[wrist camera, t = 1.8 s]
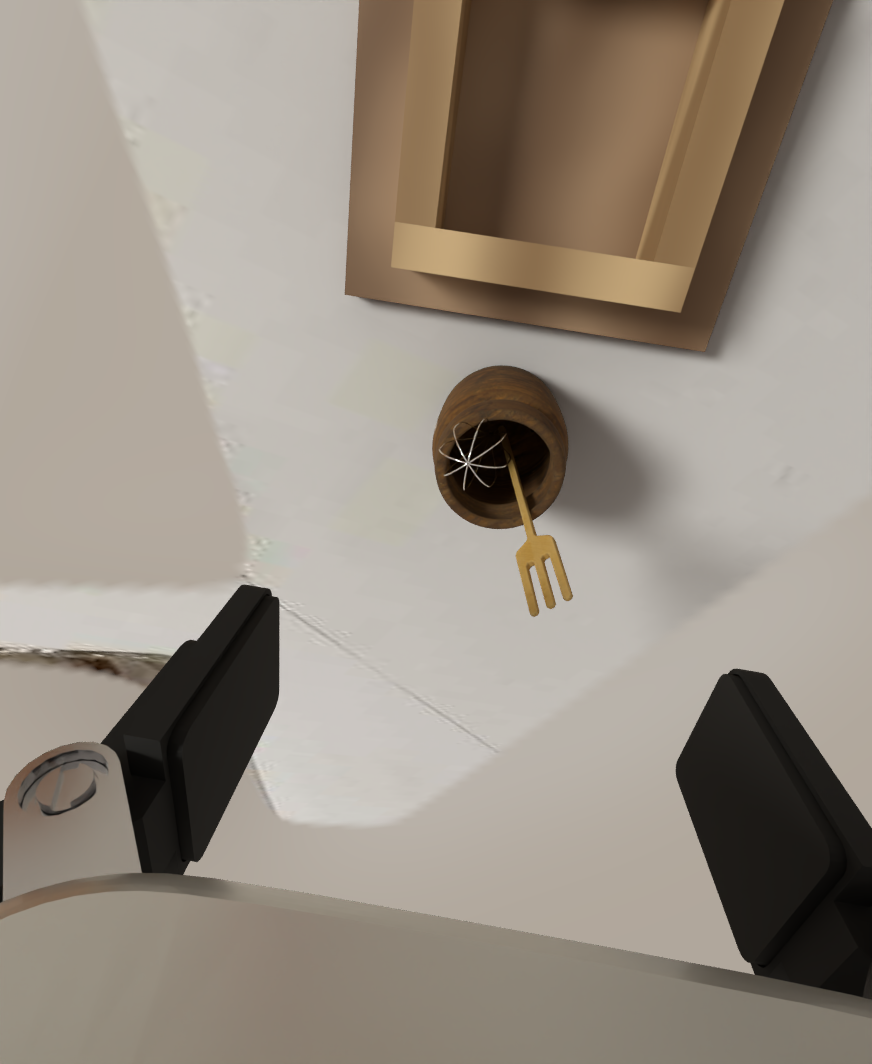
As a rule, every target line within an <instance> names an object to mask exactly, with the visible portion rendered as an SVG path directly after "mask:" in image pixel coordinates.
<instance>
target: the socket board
mask: <svg viewBox="0 0 872 1064" xmlns="http://www.w3.org/2000/svg"><path fill="white" fill-rule="evenodd" d="M832 2H833V0H359V18H358V38H357V59H356V79H355V99H354V119H353V139H352V160H351V180H350V200H349V220H348V241H347V261H346V281H345V295H351V296H357V297H363V298H370V299H376V300H382V301H388V302H395V303H401V304H407V305H414V306H420V307H426V308H432V309H439V310H445V311H451V312H457V313H464V314H470V315H476V316H483V317H489V318H495V319H501V320H508V321H514V322H520V323H526V324H533V325H539V326H545V327H552V328H558V329H564V330H570V331H577V332H583V333H589V334H595V335H602V336H608V337H614V338H621V339H627V340H633V341H639V342H646V343H652V344H658V345H664V346H671V347H677V348H683V349H690V350H696V351H702V352H705V350H706V347H707V344H708V342H709V339H710V336H711V333H712V331H713V328H714V325H715V322H716V320H717V317H718V314H719V312H720V309H721V306H722V303H723V301H724V298H725V295H726V292H727V290H728V287H729V284H730V281H731V279H732V276H733V273H734V270H735V268H736V265H737V262H738V260H739V257H740V254H741V251H742V249H743V246H744V243H745V240H746V238H747V235H748V232H749V229H750V227H751V224H752V221H753V218H754V216H755V213H756V210H757V208H758V205H759V202H760V199H761V197H762V194H763V191H764V188H765V186H766V183H767V180H768V177H769V175H770V172H771V169H772V166H773V164H774V161H775V158H776V156H777V153H778V150H779V147H780V145H781V142H782V139H783V136H784V134H785V131H786V128H787V125H788V123H789V120H790V117H791V114H792V112H793V109H794V106H795V104H796V101H797V98H798V95H799V93H800V90H801V87H802V84H803V82H804V79H805V76H806V73H807V71H808V68H809V65H810V62H811V60H812V57H813V54H814V52H815V49H816V46H817V43H818V41H819V38H820V35H821V32H822V30H823V27H824V24H825V21H826V19H827V16H828V13H829V10H830V8H831V5H832Z"/></svg>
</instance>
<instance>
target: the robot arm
mask: <svg viewBox="0 0 872 1064" xmlns="http://www.w3.org/2000/svg"><path fill="white" fill-rule="evenodd" d="M278 696H279V599H278V597H273V596H272V593H271V590H270V589H267V588H261V587H256V586H250V585H241V586H240V587H239V588H238V590H237V591H236V592H235V593H234V595H233V596H232V597H231V598H230V600H229V601H228V602H227V603H226V605H225V606H224V607H223V609H222V610H221V611H220V612H219V614H218V615H217V616H216V617H215V619H214V620H213V621H212V622H211V624H210V625H209V626H208V628H207V629H206V630H205V631H204V633H203V634H202V635H201V636H200V638H199V639H198V640H197V641H194V640H188V641H186V642H185V643H183V644H182V645H181V646H180V647H179V649H178V650H177V651H176V652H175V654H174V655H173V656H172V657H171V658H170V660H169V661H168V662H167V663H166V664H165V666H164V667H163V668H162V669H161V671H160V672H159V673H158V674H157V675H156V677H155V678H154V679H153V680H152V682H151V683H150V684H149V685H148V686H147V688H146V689H145V690H144V691H143V693H142V694H141V695H140V696H139V697H138V699H137V700H136V701H135V702H134V704H133V705H132V706H131V707H130V708H129V710H128V711H127V712H126V713H125V714H124V716H123V717H122V718H121V719H120V721H119V722H118V723H117V724H116V726H115V727H114V728H113V729H112V730H111V732H110V733H109V734H108V735H107V736H106V738H105V739H104V740H103V741H102V742H101V744H99V743H95V742H77V743H72V744H68V745H64V746H60V747H58V748H55V749H53V750H50V751H48V752H46V753H44V754H42V755H41V756H39V757H37V758H36V759H34V760H33V761H31V762H30V763H28V764H27V765H26V766H25V767H24V768H23V769H22V770H21V771H20V772H19V773H18V774H17V775H16V776H15V777H14V779H13V780H12V782H11V783H10V785H9V786H8V788H7V791H6V794H5V799H4V800H2V801H0V1064H872V828H871V827H870V825H869V824H868V822H867V821H866V819H865V818H864V816H863V815H862V813H861V812H860V810H859V809H858V807H857V806H856V804H855V803H854V802H853V800H852V799H851V797H850V796H849V794H848V793H847V791H846V790H845V788H844V787H843V785H842V784H841V782H840V781H839V779H838V778H837V777H836V775H835V774H834V772H833V771H832V769H831V768H830V766H829V765H828V763H827V762H826V760H825V759H824V758H823V756H822V754H821V753H820V751H819V750H818V749H817V747H816V746H815V744H814V743H813V741H812V740H811V738H810V737H809V735H808V734H807V732H806V731H805V729H804V728H803V726H802V725H801V723H800V722H799V720H798V719H797V718H796V716H795V715H794V713H793V712H792V710H791V709H790V707H789V706H788V704H787V703H786V701H785V700H784V698H783V697H782V695H781V694H780V693H779V691H778V690H777V688H776V687H775V685H774V684H773V682H772V681H771V679H770V678H769V677H768V676H767V675H766V674H764V673H759V672H753V671H747V670H741V669H733V670H731V671H730V672H729V673H728V674H723V675H722V676H721V677H720V678H719V680H718V682H717V684H716V686H715V688H714V690H713V692H712V694H711V696H710V698H709V700H708V702H707V704H706V706H705V707H704V709H703V711H702V713H701V715H700V717H699V719H698V721H697V723H696V725H695V727H694V729H693V731H692V733H691V735H690V737H689V739H688V741H687V743H686V745H685V747H684V749H683V751H682V753H681V755H680V757H679V759H678V761H677V764H676V777H677V781H678V784H679V787H680V789H681V792H682V795H683V797H684V800H685V803H686V806H687V809H688V811H689V814H690V817H691V820H692V822H693V825H694V828H695V831H696V833H697V836H698V839H699V842H700V844H701V847H702V850H703V853H704V855H705V858H706V861H707V863H708V866H709V869H710V872H711V875H712V877H713V880H714V883H715V886H716V889H717V891H718V894H719V897H720V900H721V902H722V905H723V908H724V911H725V913H726V916H727V919H728V921H729V924H730V927H731V930H732V933H733V935H734V938H735V941H736V944H737V946H738V949H739V951H740V953H741V955H742V957H743V958H744V960H746V961H747V962H749V963H751V965H752V968H753V971H754V974H755V975H753V974H748V973H742V972H737V971H732V970H726V969H721V968H716V967H711V966H705V965H700V964H695V963H689V962H684V961H679V960H673V959H668V958H663V957H657V956H652V955H646V954H642V953H636V952H631V951H626V950H620V949H615V948H610V947H604V946H599V945H593V944H587V943H582V942H577V941H571V940H566V939H560V938H555V937H550V936H544V935H539V934H533V933H528V932H522V931H517V930H511V929H506V928H500V927H495V926H489V925H483V924H478V923H473V922H467V921H461V920H456V919H450V918H445V917H439V916H433V915H428V914H422V913H417V912H411V911H405V910H400V909H394V908H389V907H383V906H377V905H372V904H366V903H360V902H355V901H349V900H343V899H337V898H332V897H326V896H321V895H315V894H309V893H304V892H297V891H290V890H284V889H278V888H272V887H266V886H259V885H253V884H246V883H240V882H233V881H228V880H221V879H215V878H205V877H196V876H186V875H183V874H184V872H185V870H186V868H187V866H188V864H189V862H190V861H194V862H198V861H199V860H200V859H201V857H202V856H203V854H204V852H205V850H206V848H207V846H208V844H209V842H210V840H211V838H212V836H213V834H214V832H215V830H216V828H217V826H218V824H219V822H220V820H221V818H222V815H223V813H224V811H225V809H226V807H227V805H228V803H229V801H230V799H231V797H232V795H233V793H234V791H235V789H236V787H237V785H238V783H239V781H240V779H241V777H242V775H243V773H244V771H245V769H246V767H247V765H248V763H249V761H250V758H251V756H252V754H253V752H254V750H255V748H256V746H257V744H258V742H259V740H260V738H261V736H262V734H263V732H264V730H265V728H266V726H267V724H268V722H269V720H270V718H271V716H272V714H273V712H274V709H275V707H276V704H277V701H278Z"/></svg>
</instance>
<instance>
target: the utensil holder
mask: <svg viewBox="0 0 872 1064" xmlns="http://www.w3.org/2000/svg"><path fill="white" fill-rule="evenodd" d="M432 450H433V460H434V465H435V475H436V480H437V484H438V487H439V490H440V492H441V494H442V496H443V498H444V500H445V501H446V503H447V504H448V505H449V506H450V508H451V509H452V510H453V511H454V512H455V513H457V514H458V515H459V516H460V517H462V518H463V519H465V520H467V521H468V522H470V523H473V524H475V525H478V526H481V527H485V528H492V529H507V528H513V527H517V526H521V525H524V527H525V531H526V535H527V541H526V542H525V543H524V545H523V546H522V547H521V548H520V549H519V550H518V551H517V553H516V559H517V563H518V567H519V571H520V575H521V579H522V583H523V587H524V591H525V595H526V599H527V603H528V607H529V612H530V615H531V616H533V617H535V616H537V615H538V614H539V608H538V604H537V600H536V596H535V592H534V588H533V583H532V579H531V575H530V571H529V570H530V568H531V567H532V566H534V565H535V567H536V571H537V574H538V578H539V581H540V585H541V589H542V592H543V596H544V599H545V603H546V606H547V608H549V609H552V608H554V607H555V605H556V603H555V599H554V595H553V592H552V588H551V585H550V581H549V577H548V574H547V570H546V567H545V563H544V562H545V560H546V559H548V558H551V561H552V564H553V568H554V571H555V574H556V577H557V580H558V583H559V586H560V589H561V593H562V596H563V599H564V600H566V601H569V600H571V599H572V597H573V595H572V592H571V588H570V585H569V582H568V579H567V576H566V573H565V570H564V566H563V563H562V560H561V557H560V554H559V551H558V548H557V545H556V541H555V540H554V538H553V537H552V536H550V535H544V536H537V535H536V532H535V528H534V525H533V521H532V520H534V519H536V518H537V517H539V516H540V515H541V514H543V513H544V512H545V511H546V510H547V509H548V508H549V507H550V506H551V504H552V503H553V502H554V500H555V499H556V497H557V496H558V494H559V492H560V489H561V487H562V484H563V480H564V476H565V470H566V461H567V456H568V434H567V429H566V425H565V422H564V419H563V416H562V413H561V411H560V408H559V406H558V404H557V402H556V399H555V398H554V396H553V394H552V393H551V391H550V390H549V388H548V387H547V386H546V385H545V384H544V383H543V382H542V381H541V380H540V379H539V378H537V377H536V376H534V375H533V374H531V373H529V372H527V371H525V370H523V369H520V368H517V367H512V366H491V367H487V368H483V369H480V370H478V371H476V372H474V373H472V374H470V375H468V376H467V377H466V378H464V379H463V380H462V381H461V382H459V383H458V384H457V385H456V386H455V388H454V389H453V390H452V391H451V393H450V394H449V396H448V398H447V399H446V401H445V403H444V405H443V407H442V410H441V413H440V415H439V418H438V421H437V424H436V427H435V431H434V436H433V447H432Z"/></svg>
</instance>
